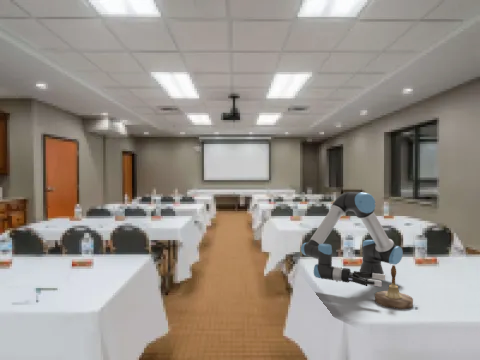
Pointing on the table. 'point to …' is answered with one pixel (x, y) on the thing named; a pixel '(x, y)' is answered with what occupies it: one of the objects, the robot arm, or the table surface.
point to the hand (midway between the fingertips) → (383, 280)
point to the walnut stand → (394, 300)
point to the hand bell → (393, 286)
